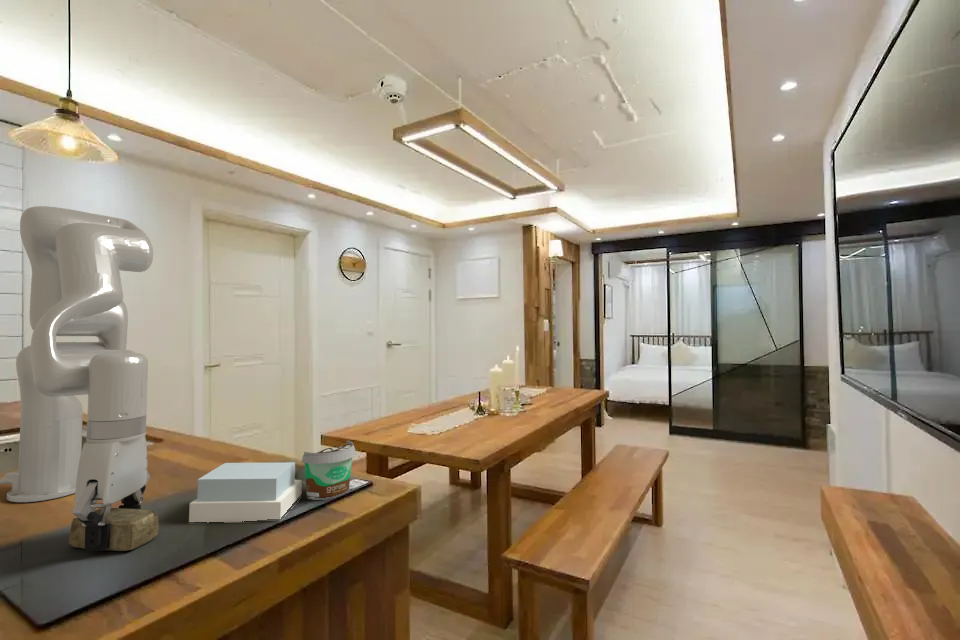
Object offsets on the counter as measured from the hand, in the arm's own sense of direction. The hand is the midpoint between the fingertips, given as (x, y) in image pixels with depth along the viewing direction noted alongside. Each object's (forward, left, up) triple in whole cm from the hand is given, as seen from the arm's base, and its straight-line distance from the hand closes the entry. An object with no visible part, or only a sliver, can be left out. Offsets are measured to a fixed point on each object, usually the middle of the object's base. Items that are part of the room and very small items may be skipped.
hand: (113, 537), depth 72 cm
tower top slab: (+16, +13, +3) cm, 21 cm away
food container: (+31, +19, -1) cm, 36 cm away
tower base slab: (+16, +13, -1) cm, 21 cm away
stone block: (0, 0, -1) cm, 1 cm away
